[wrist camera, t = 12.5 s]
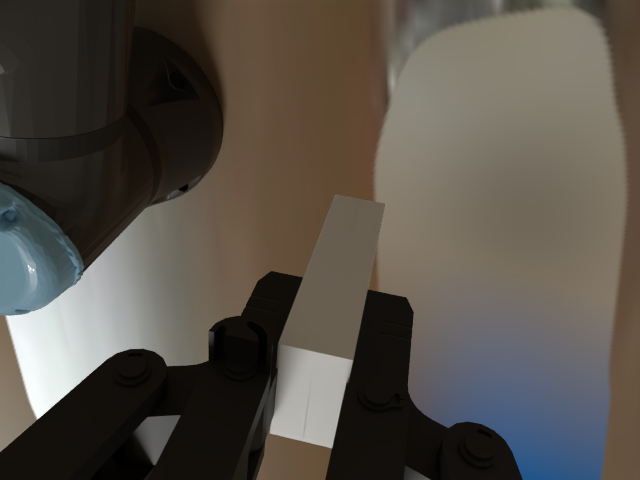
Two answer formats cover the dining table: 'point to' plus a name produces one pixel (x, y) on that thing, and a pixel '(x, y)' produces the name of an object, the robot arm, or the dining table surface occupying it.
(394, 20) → the dining table surface
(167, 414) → the robot arm
